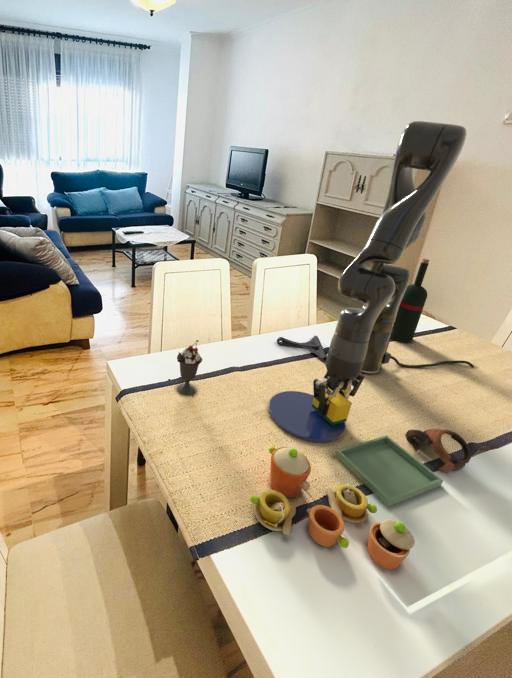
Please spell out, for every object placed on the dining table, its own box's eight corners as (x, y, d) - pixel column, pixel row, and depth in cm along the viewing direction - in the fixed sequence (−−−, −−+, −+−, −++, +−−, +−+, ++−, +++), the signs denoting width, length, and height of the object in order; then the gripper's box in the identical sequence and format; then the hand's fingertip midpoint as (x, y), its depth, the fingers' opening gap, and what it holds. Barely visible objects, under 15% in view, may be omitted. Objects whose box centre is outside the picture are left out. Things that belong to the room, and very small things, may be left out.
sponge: (325, 403, 99) (329, 385, 97) (346, 421, 93) (351, 403, 91) (311, 406, 98) (316, 388, 95) (332, 425, 92) (337, 406, 89)
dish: (384, 441, 90) (386, 435, 90) (440, 487, 79) (443, 480, 78) (334, 457, 85) (336, 450, 84) (387, 508, 74) (390, 501, 73)
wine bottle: (378, 329, 146) (402, 253, 134) (409, 335, 142) (436, 258, 131) (382, 338, 139) (407, 259, 127) (414, 345, 135) (443, 264, 124)
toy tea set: (245, 524, 69) (253, 485, 65) (258, 462, 82) (265, 427, 79) (411, 591, 60) (432, 550, 57) (396, 510, 74) (411, 472, 70)
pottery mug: (442, 443, 92) (470, 433, 85) (448, 484, 86) (479, 476, 79) (393, 424, 92) (417, 412, 86) (396, 463, 86) (423, 453, 80)
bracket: (274, 334, 137) (275, 327, 136) (317, 340, 135) (319, 333, 134) (278, 355, 124) (280, 348, 123) (327, 362, 122) (329, 354, 121)
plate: (307, 390, 108) (308, 385, 107) (360, 434, 92) (362, 430, 92) (254, 402, 101) (254, 398, 101) (301, 452, 86) (302, 447, 85)
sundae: (201, 386, 106) (207, 339, 101) (193, 400, 101) (199, 351, 95) (179, 379, 109) (184, 333, 103) (170, 392, 103) (174, 344, 97)
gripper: (335, 366, 83) (318, 428, 89) (383, 356, 88) (364, 415, 94) (310, 348, 89) (296, 407, 96) (357, 340, 94) (340, 397, 100)
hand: (330, 411), depth 95 cm, fingers closed on sponge, 4 cm apart
